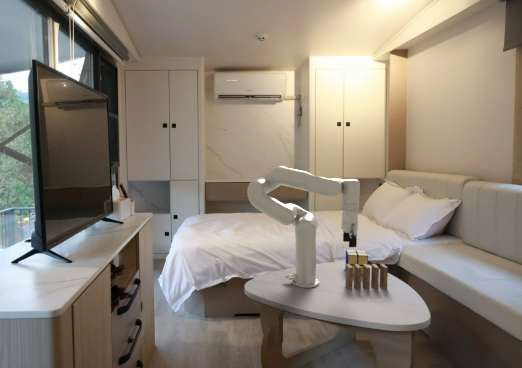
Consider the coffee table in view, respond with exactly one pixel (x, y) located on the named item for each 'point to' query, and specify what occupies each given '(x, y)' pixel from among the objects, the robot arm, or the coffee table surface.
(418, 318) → the coffee table surface
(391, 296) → the coffee table surface
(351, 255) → the puzzle cube
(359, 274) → the domino
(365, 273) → the domino
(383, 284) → the domino
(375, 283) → the domino
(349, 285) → the domino
